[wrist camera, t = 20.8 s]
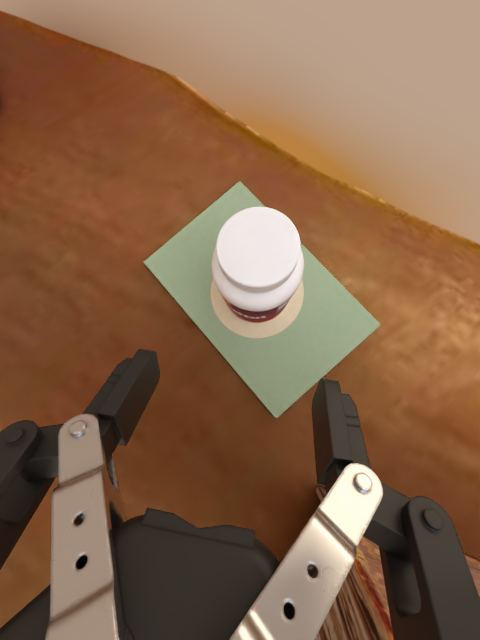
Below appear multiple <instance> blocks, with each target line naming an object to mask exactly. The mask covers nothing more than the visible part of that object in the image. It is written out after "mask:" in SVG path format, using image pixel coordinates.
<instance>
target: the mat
mask: <svg viewBox="0 0 480 640" xmlns="http://www.w3.org/2000/svg"><path fill="white" fill-rule="evenodd" d="M251 207H265V206H264V205H263V204H262V203H261V202H260V201H259V200H258V199H257V198H256V197H255V196H254V195H253V194H252V193H251V192H250V191H249V190H248V189H247V188H246V187H245V186H244V185H243V184H242V183H241V182H240V181H239V182H238V183H236V184H235V185H234V186H233V187H232V188H231V189H229V190H228V191H227V192H226V193H225V194H223V195H222V196H221V197H220V198H219V199H217V200H216V201H215V202H214V203H213V204H212V205H210V206H209V207H208V208H207V209H206V210H204V211H203V212H202V213H201V214H200V215H198V216H197V217H196V218H195V219H194V220H192V221H191V222H190V223H189V224H188V225H187V226H185V227H184V228H183V229H182V230H181V231H179V232H178V233H177V234H176V235H175V236H173V237H172V238H171V239H170V240H169V241H168V242H166V243H165V244H164V245H163V246H162V247H160V248H159V249H158V250H157V251H156V252H154V253H153V254H152V255H151V256H150V257H149V258H147V259H146V260H145V261H144V264H145V265H146V266H147V267H148V268H149V269H150V271H151V272H152V273H153V274H154V275H155V277H156V278H157V279H158V280H159V281H160V282H161V284H162V285H163V286H164V287H165V288H166V290H167V291H168V292H169V293H170V294H171V295H172V297H173V298H174V299H175V300H176V301H177V303H178V304H179V305H180V306H181V307H182V308H183V310H184V311H185V312H186V313H187V314H188V316H189V317H190V318H191V319H192V320H193V321H194V323H195V324H196V325H197V326H198V327H199V329H200V330H201V331H202V332H203V333H204V334H205V336H206V337H207V338H208V339H209V340H210V342H211V343H212V344H213V345H214V346H215V347H216V349H217V350H218V351H219V352H220V353H221V355H222V356H223V357H224V358H225V359H226V360H227V362H228V363H229V364H230V365H231V366H232V368H233V369H234V370H235V371H236V372H237V373H238V375H239V376H240V377H241V378H242V379H243V381H244V382H245V383H246V384H247V385H248V386H249V388H250V389H251V390H252V391H253V392H254V394H255V395H256V396H257V397H258V398H259V399H260V401H261V402H262V403H263V404H264V405H265V407H266V408H267V409H268V410H269V411H270V412H271V414H272V415H273V416H274V417H275V418H276V419H277V418H278V417H279V416H280V415H281V414H282V413H283V412H284V411H285V410H287V409H288V408H289V407H290V406H291V405H292V404H293V403H294V402H295V401H297V400H298V399H299V398H300V397H301V396H302V395H303V394H304V393H305V392H307V391H308V390H309V389H310V388H311V387H312V386H313V385H314V384H316V383H317V382H318V381H319V380H320V379H321V378H322V377H323V376H324V375H326V374H327V373H328V372H329V371H330V370H331V369H332V368H333V367H334V366H336V365H337V364H338V363H339V362H340V361H341V360H342V359H343V358H344V357H346V356H347V355H348V354H349V353H350V352H351V351H352V350H353V349H354V348H356V347H357V346H358V345H359V344H360V343H361V342H362V341H363V340H364V339H366V338H367V337H368V336H369V335H370V334H371V333H372V332H373V331H374V330H376V329H377V328H378V327H379V326H380V325H381V324H380V323H379V322H378V321H377V320H376V319H375V318H374V317H373V316H372V315H371V314H370V313H369V312H368V311H367V310H366V309H365V308H364V307H363V306H362V305H361V304H360V303H359V302H358V301H357V300H356V299H355V298H354V297H353V296H352V295H351V294H350V293H349V292H348V291H347V290H346V289H345V288H344V287H343V286H342V285H341V284H340V283H339V282H338V280H337V279H336V278H335V277H334V276H333V275H332V274H331V273H330V272H329V271H328V270H327V269H326V268H325V267H324V266H323V265H322V264H321V263H320V262H319V261H318V260H317V259H316V258H315V257H314V256H313V255H312V254H311V253H310V252H309V251H308V250H307V249H306V248H305V247H304V246H303V245H302V244H301V243H300V244H301V250H302V253H303V258H304V271H303V276H302V279H301V282H300V284H299V286H298V288H297V290H296V291H295V293H294V294H293V296H292V297H291V299H290V300H289V302H288V304H287V305H286V307H285V308H284V310H283V311H282V312H281V313H280V314H279V315H278V316H276V317H275V318H273V319H272V320H269V321H267V322H263V323H251V322H246V321H244V320H241V319H240V318H238V317H237V316H236V315H234V314H233V313H232V312H231V310H230V309H229V308H228V306H227V304H226V302H225V301H224V299H223V297H222V295H221V294H220V292H219V290H218V289H217V287H216V284H215V282H214V279H213V276H212V269H211V264H212V256H213V252H214V250H215V247H216V242H217V238H218V235H219V232H220V230H221V228H222V227H223V225H224V224H225V222H226V221H227V220H228V219H229V218H230V217H232V216H233V215H234V214H236V213H238V212H239V211H242V210H244V209H247V208H251Z"/></svg>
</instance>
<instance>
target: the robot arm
mask: <svg viewBox="0 0 480 640" xmlns="http://www.w3.org/2000/svg"><path fill="white" fill-rule="evenodd" d="M159 377H160V369H159V364H158V358H157V353H156V352H155V351H151V350H144V349H139V350H138V351H137V352H136V354H135V355H134V357H133V358H132V359H131V358H126V359H125V360H124V361H122V362H121V363H120V364H118V365H117V367H116V368H115V369H114V371H113V372H112V374H111V376H109V378H108V379H107V381H106V383H104V385H103V386H102V388H101V389H100V390H99V392H98V393H97V395H96V396H95V397H94V399H93V400H92V402H91V403H90V404H89V406H88V407H87V409H86V410H85V411H84V412H83V413H82V414H79V415H76V416H74V417H72V418H71V419H69V420H68V421H67V422H66V423H65V424H60V425H52V426H45V427H38V426H37V425H36V423H35V422H33V421H30V420H23V421H19V422H16V423H13V424H11V425H9V426H8V427H6V428H5V429H4V430H2V431H1V432H0V569H1V568H2V566H3V564H4V563H5V561H6V559H7V558H8V556H9V554H10V553H11V551H12V549H13V548H14V546H15V544H16V543H17V541H18V539H19V538H20V536H21V534H22V533H23V531H24V529H25V528H26V526H27V524H28V523H29V521H30V519H31V518H32V516H33V514H34V513H35V511H36V509H37V508H38V506H39V504H40V503H41V501H42V499H43V498H44V496H45V494H46V493H47V491H48V489H49V488H50V486H51V484H52V483H53V481H54V479H55V478H56V477H58V486H57V488H55V489H54V490H53V493H52V515H51V584H50V585H49V586H48V587H47V588H46V589H44V590H43V591H42V592H41V593H40V594H39V595H38V596H37V597H35V598H34V599H33V600H32V601H31V602H30V603H29V604H27V605H26V606H25V607H24V608H23V609H22V610H21V611H20V612H18V613H17V614H16V615H15V616H14V617H13V618H12V619H10V620H9V621H8V622H7V623H6V624H5V625H4V626H3V627H1V628H0V640H316V636H317V634H318V632H319V630H320V628H321V626H322V624H323V622H324V620H325V618H326V616H327V614H328V612H329V610H330V608H331V606H332V604H333V602H334V600H335V598H336V596H337V594H338V592H339V590H340V588H341V586H342V584H343V582H344V580H345V578H346V576H347V574H348V572H349V570H350V568H351V566H352V564H353V562H354V560H355V557H356V554H357V551H356V549H357V546H358V544H359V542H360V540H361V538H362V536H363V537H365V538H367V539H368V540H370V541H372V542H373V543H375V544H376V545H378V546H379V551H380V558H381V564H382V570H383V576H384V582H385V589H386V595H387V601H388V607H389V613H390V620H391V626H392V632H393V638H394V640H480V597H479V594H478V591H477V589H476V586H475V583H474V580H473V577H472V575H471V572H470V569H469V566H468V563H467V561H466V558H465V555H464V552H463V549H462V547H461V544H460V541H459V538H458V535H457V533H456V530H455V527H454V524H453V522H452V520H451V518H450V517H449V515H448V514H447V513H446V511H445V510H444V509H443V508H442V507H441V506H440V505H439V504H437V503H436V502H435V501H433V500H431V499H429V498H427V497H424V496H416V497H414V498H412V499H410V498H408V497H406V496H405V495H403V494H401V493H399V492H397V491H395V490H393V489H391V488H389V487H388V486H386V485H385V484H384V483H382V482H381V481H380V480H379V478H378V477H377V475H376V474H375V473H374V472H373V471H372V469H371V466H370V464H369V460H368V456H367V451H366V447H365V443H364V438H363V434H362V430H361V428H360V426H361V425H360V421H359V419H358V413H357V408H356V405H355V403H354V402H353V400H352V399H351V397H350V396H349V395H348V394H342V393H341V390H340V385H339V382H338V381H335V380H328V379H321V380H320V382H319V384H318V387H317V389H316V392H315V395H314V397H313V401H312V420H313V433H314V447H315V460H316V473H317V484H322V485H325V489H326V496H325V497H324V499H323V500H322V501H321V503H320V504H319V506H318V507H317V509H316V510H315V512H314V513H313V515H312V516H311V518H310V519H309V521H308V522H307V524H306V525H305V527H304V528H303V529H302V531H301V532H300V534H299V535H298V537H297V538H296V540H295V541H294V543H293V544H292V546H291V547H290V548H289V550H288V551H287V553H286V554H285V556H284V557H283V559H282V560H281V562H280V563H279V561H278V559H277V558H276V556H275V555H274V554H273V553H272V551H271V550H270V549H269V548H268V547H267V546H266V545H265V544H263V543H262V542H261V541H260V540H258V539H256V538H255V530H250V529H245V528H241V527H236V526H231V525H222V526H213V527H205V528H197V527H195V526H194V525H192V524H190V523H189V522H187V521H185V520H184V519H182V518H180V517H179V516H177V515H175V514H174V513H170V512H165V511H160V510H155V509H151V508H147V510H146V513H145V515H141V516H137V517H134V518H131V519H129V520H127V518H126V513H125V509H124V505H123V502H122V498H121V494H120V489H119V482H118V476H117V470H116V464H115V458H114V453H113V452H114V450H115V448H116V446H117V445H118V444H120V445H125V446H126V445H127V443H128V441H129V439H130V437H131V435H132V433H133V431H134V429H135V427H136V425H137V423H138V421H139V419H140V417H141V415H142V413H143V412H144V410H145V408H146V406H147V404H148V402H149V400H150V398H151V396H152V394H153V392H154V390H155V388H156V386H157V384H158V381H159Z"/></svg>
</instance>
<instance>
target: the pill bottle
mask: <svg viewBox="0 0 480 640" xmlns="http://www.w3.org/2000/svg"><path fill="white" fill-rule="evenodd" d="M211 269H212V276H213V279H214V282H215V284H216V287H217V289H218V290H219V292H220V294H221V295H222V297H223V299H224V301H225V302H226V304H227V306H228V308H229V309H230V310H231V312H232V313H233V314H234V315H236V316H237V317H238V318H240V319H241V320H244V321H246V322H251V323H263V322H267V321H269V320H272V319H273V318H275V317H276V316H278V315H279V314H280V313H281V312H282V311H283V310H284V308H285V307H286V305H287V304H288V302H289V300H290V299H291V297H292V296H293V294H294V293H295V291H296V290H297V288H298V286H299V284H300V282H301V279H302V276H303V271H304V258H303V253H302V250H301V244H300V237H299V234H298V231H297V229H296V227H295V226H294V224H293V223H292V222H291V220H290V219H289V218H288V217H287V216H285V215H284V214H283V213H281V212H279V211H277V210H274V209H272V208H267V207H251V208H247V209H244V210H242V211H239V212H238V213H236V214H234V215H233V216H232V217H230V218H229V219H228V220H227V221H226V222H225V224H224V225H223V227H222V228H221V230H220V232H219V235H218V238H217V242H216V247H215V250H214V252H213V256H212V264H211Z"/></svg>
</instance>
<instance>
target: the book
mask: <svg viewBox="0 0 480 640" xmlns="http://www.w3.org/2000/svg"><path fill="white" fill-rule="evenodd" d="M316 493H317V495H318V497H319V499H320V502H321V501H322V500H323V499H324V497H325V496H326V489H325V488H324V487H322V486H320V485H319V486H317V489H316ZM356 551H357V554H356V557H355V560H354V562H353V564H352V566H351V568H350V570H349V572H348V574H347V576H346V578H345V580H344V582H343V584H342V586H341V588H340V590H339V592H338V594H337V596H336V598H335V600H334V602H333V604H332V606H331V608H330V610H329V612H328V614H327V616H326V618H325V620H324V622H323V624H322V626H321V628H320V630H319V632H318V634H317V636H316V640H394V638H393V632H392V626H391V620H390V613H389V607H388V601H387V595H386V589H385V582H384V576H383V570H382V564H381V558H380V551H379V546H378V545H376V544H375V543H373V542H372V541H370V540H368V539H367V538H365V537H363V536H362V538H361V540H360V542H359V544H358V546H357V549H356ZM464 555H465V558H466V561H467V563H468V566H469V569H470V572H471V575H472V577H473V580H474V583H475V586H476V589H477V591H478V594H479V597H480V560H477V559H475V558H473V557H471V556H469V555H467V554H465V553H464Z"/></svg>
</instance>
